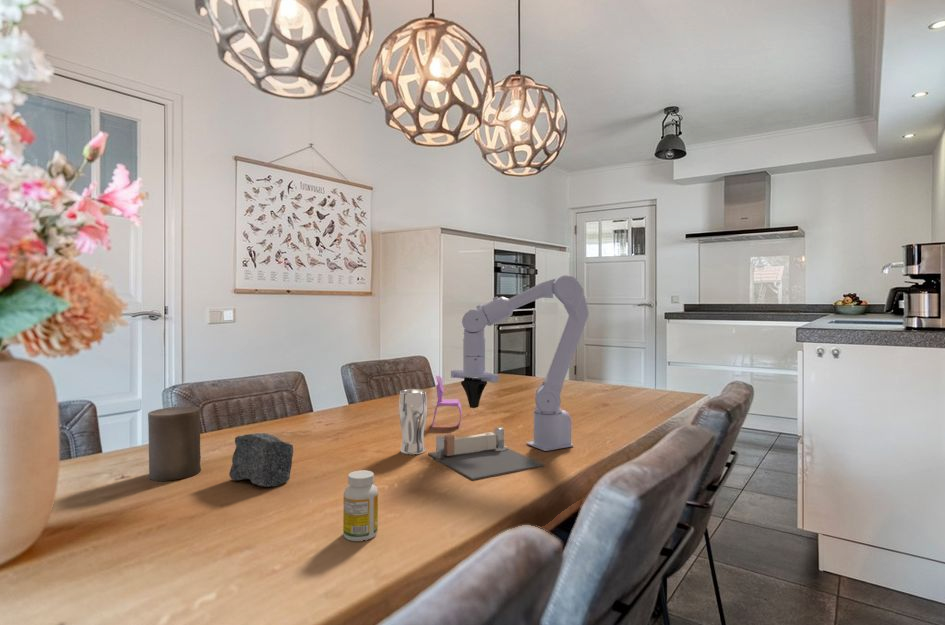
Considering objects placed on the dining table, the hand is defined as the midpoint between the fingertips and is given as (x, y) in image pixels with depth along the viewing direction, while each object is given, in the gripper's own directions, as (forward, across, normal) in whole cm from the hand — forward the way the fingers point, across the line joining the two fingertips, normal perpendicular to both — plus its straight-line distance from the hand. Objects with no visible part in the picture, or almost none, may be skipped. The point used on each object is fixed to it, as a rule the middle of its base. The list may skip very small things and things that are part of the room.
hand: (474, 407), depth 135 cm
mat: (+9, -11, +10) cm, 18 cm away
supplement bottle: (+10, -19, +54) cm, 58 cm away
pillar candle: (+10, +35, +59) cm, 70 cm away
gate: (+8, -6, +9) cm, 14 cm away
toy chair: (+10, +18, -10) cm, 23 cm away
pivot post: (+9, -9, +1) cm, 13 cm away
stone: (+10, +16, +50) cm, 54 cm away
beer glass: (+10, +7, +16) cm, 20 cm away
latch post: (+9, -3, +15) cm, 18 cm away
